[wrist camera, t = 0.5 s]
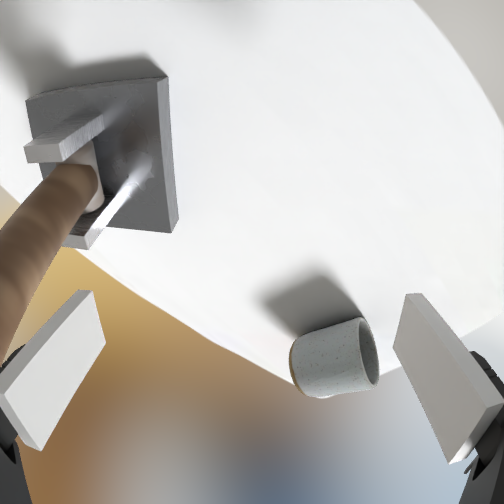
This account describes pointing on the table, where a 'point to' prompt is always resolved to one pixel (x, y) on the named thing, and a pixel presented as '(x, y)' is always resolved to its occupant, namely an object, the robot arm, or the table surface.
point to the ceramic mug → (335, 360)
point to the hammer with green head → (43, 233)
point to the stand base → (111, 151)
